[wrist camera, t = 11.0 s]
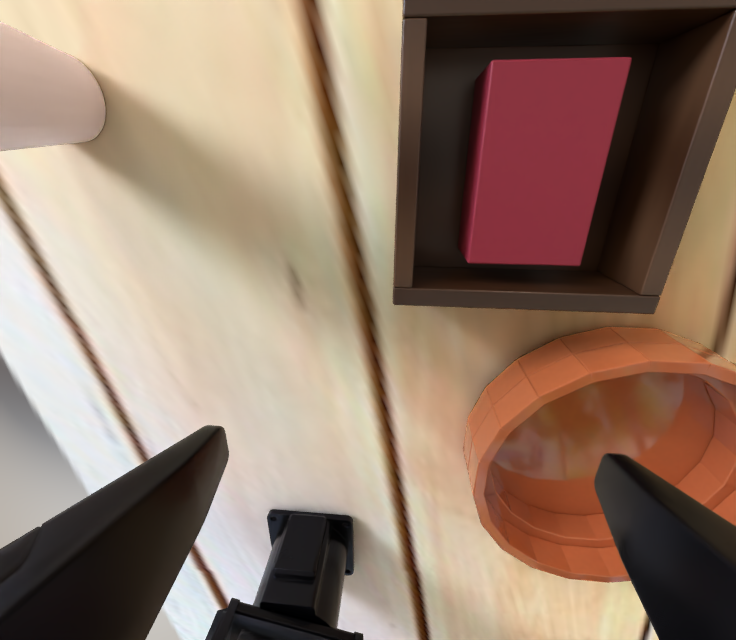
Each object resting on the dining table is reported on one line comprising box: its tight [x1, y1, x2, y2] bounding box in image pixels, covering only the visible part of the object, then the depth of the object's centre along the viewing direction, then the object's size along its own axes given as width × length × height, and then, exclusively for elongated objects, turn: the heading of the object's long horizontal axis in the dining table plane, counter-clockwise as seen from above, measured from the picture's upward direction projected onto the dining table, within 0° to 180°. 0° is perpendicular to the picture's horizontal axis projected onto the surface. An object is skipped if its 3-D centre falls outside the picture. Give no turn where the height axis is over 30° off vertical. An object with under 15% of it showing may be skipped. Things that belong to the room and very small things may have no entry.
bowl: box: [463, 327, 736, 583], centre depth 20 cm, size 15×15×4 cm
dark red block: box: [458, 57, 632, 266], centre depth 14 cm, size 7×4×3 cm, turn 0°
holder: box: [393, 0, 736, 314], centre depth 14 cm, size 11×11×4 cm
